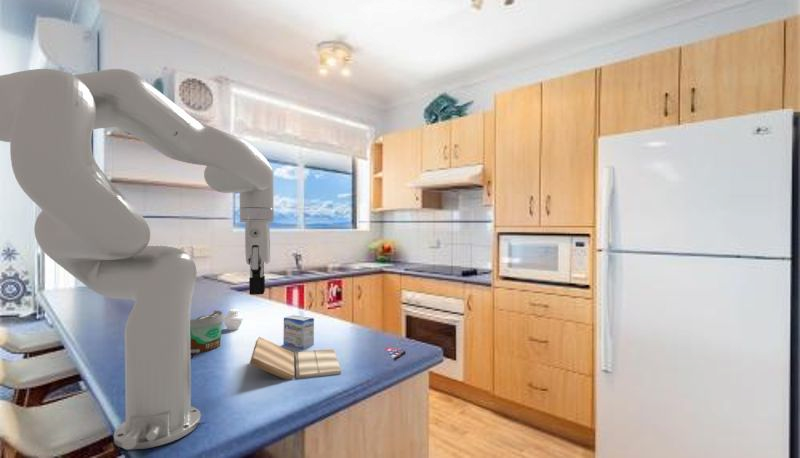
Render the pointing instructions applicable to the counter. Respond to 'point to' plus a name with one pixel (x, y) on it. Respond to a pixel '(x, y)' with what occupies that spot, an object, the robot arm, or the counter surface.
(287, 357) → the click plank
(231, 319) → the white rounded piece
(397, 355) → the smartphone
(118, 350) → the counter surface
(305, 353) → the board
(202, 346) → the food container
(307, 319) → the medicine box
